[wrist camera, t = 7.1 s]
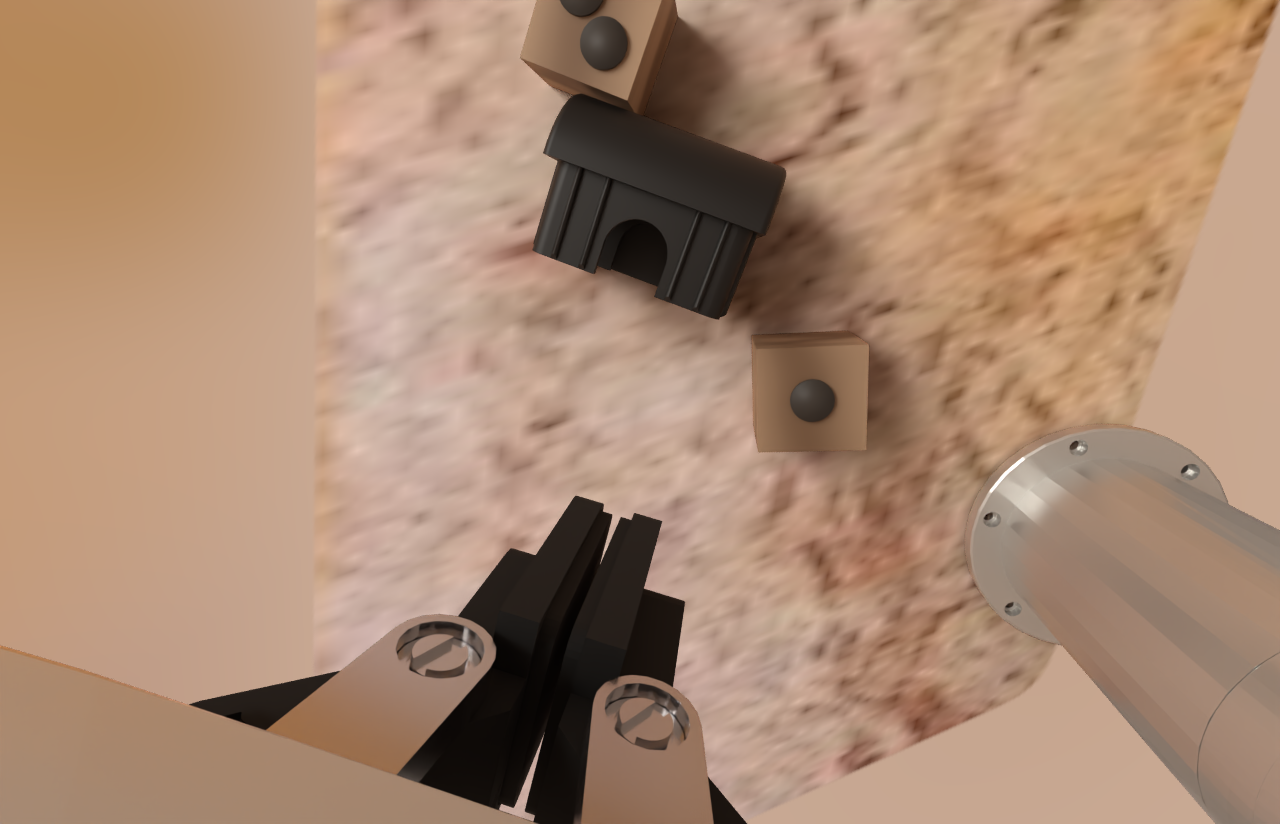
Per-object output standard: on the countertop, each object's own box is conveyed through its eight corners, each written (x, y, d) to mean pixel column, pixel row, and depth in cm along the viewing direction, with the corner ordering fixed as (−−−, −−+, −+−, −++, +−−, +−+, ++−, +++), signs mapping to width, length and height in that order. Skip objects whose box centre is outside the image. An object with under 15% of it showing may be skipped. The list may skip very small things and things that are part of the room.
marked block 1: (678, 16, 31) (670, -28, 26) (640, 122, 32) (626, 99, 27) (582, -21, 31) (556, -73, 26) (549, 85, 32) (518, 56, 27)
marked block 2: (847, 330, 33) (870, 345, 28) (845, 422, 35) (867, 451, 30) (751, 334, 34) (756, 349, 29) (752, 424, 35) (758, 453, 30)
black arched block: (780, 178, 32) (795, 160, 25) (727, 311, 34) (729, 326, 27) (594, 110, 32) (563, 75, 26) (553, 246, 34) (514, 246, 28)
